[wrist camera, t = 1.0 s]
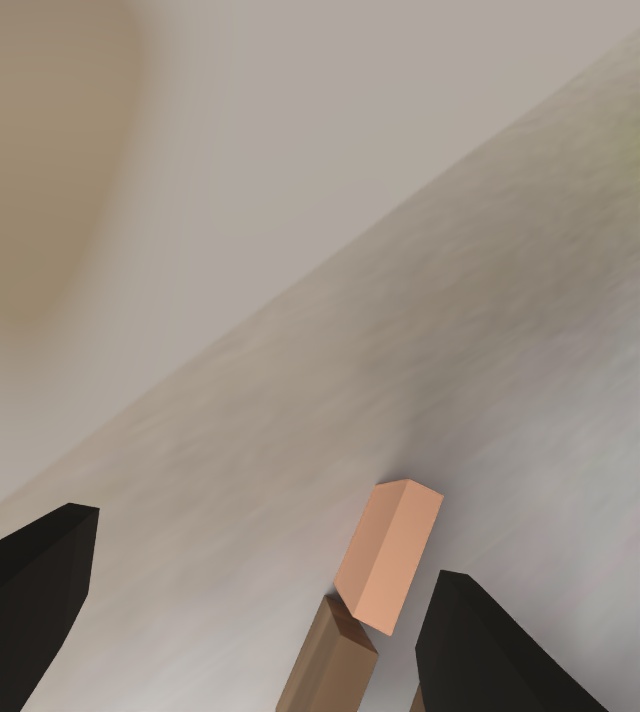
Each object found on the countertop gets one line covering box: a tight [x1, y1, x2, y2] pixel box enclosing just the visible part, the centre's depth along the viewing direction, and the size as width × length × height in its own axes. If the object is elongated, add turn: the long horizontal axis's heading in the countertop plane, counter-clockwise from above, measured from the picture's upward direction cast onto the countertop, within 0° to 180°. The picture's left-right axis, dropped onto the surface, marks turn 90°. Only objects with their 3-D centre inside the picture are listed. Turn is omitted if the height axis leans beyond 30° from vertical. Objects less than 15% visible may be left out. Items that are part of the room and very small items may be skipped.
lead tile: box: [333, 479, 444, 636], centre depth 20 cm, size 1×5×7 cm, turn 154°
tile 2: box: [276, 595, 379, 712], centre depth 18 cm, size 1×5×7 cm, turn 154°
